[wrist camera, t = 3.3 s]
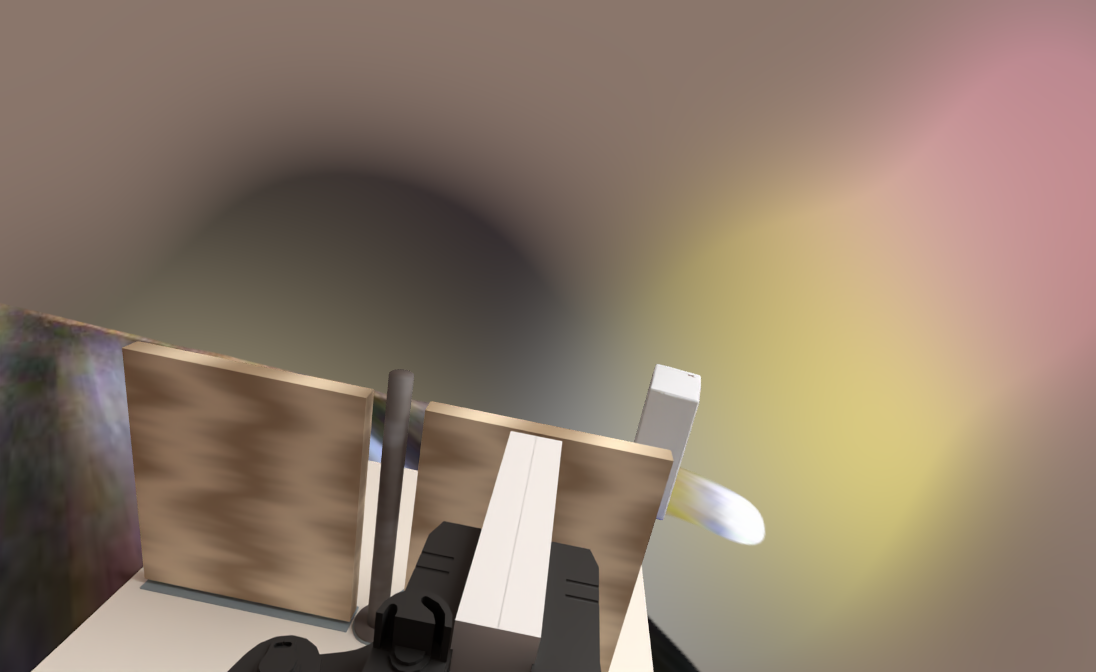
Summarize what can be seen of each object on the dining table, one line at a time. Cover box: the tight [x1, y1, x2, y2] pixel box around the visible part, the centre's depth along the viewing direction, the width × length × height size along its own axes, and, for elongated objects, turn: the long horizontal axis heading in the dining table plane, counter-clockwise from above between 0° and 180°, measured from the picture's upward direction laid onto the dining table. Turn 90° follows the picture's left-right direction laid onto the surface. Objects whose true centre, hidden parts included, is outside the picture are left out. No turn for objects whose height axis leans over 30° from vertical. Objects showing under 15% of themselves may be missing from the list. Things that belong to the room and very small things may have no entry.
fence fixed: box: [122, 341, 414, 643], centre depth 30 cm, size 15×3×17 cm, turn 85°
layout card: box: [32, 461, 653, 672], centre depth 36 cm, size 32×23×1 cm
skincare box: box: [634, 364, 701, 520], centre depth 48 cm, size 6×4×12 cm
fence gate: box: [404, 401, 674, 672], centre depth 30 cm, size 12×1×15 cm, turn 85°
